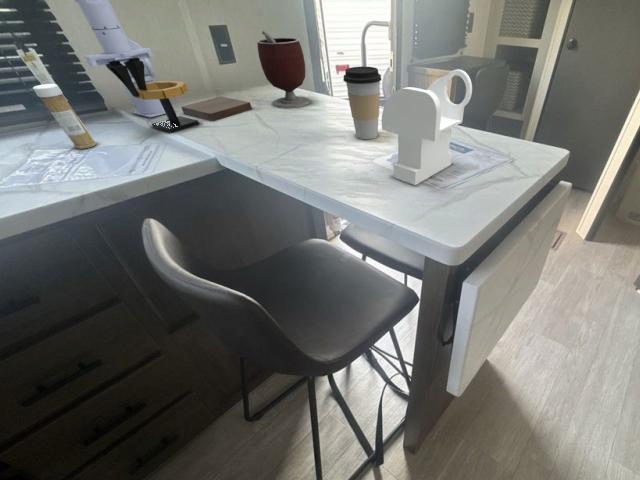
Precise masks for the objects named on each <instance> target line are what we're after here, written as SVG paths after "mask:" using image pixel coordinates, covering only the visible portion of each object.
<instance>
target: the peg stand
mask: <svg viewBox="0 0 640 480" xmlns="http://www.w3.org/2000/svg"><path fill="white" fill-rule="evenodd" d="M159 100H160V102H161V104H162V106H163V109H164V111H165V113H166V114H165V115H166V117H167V119H165V120H166V122H167V121H170V126H169V125H168V124H169V123H168V124H167V123H165V122H163V126H164V123H165V126H164V127H163V126H161V125H162V124H161V123H162V122H161V123H159V125H158V126H157V125H156V123H158V122H159V121H157V122H154V123H151V126H152V128H153V129H157V130H160V131H164V132H167V133H171V134H172V133H175V132H178V131H182V130H185V129H188V128H192V127H195V126H198V125H200V122H199V120H197V119H193V118H190V117H186V116H181V115H179V116H178V115H177V112H176V110H175V109H174V107H173V105H172V102H171V100H170V98H165V99H159ZM173 123H174V124H176V126H178V127H175V125H174V124H173ZM154 124H155V125H154ZM160 124H161V125H160ZM167 125H168V126H167ZM171 126H172V127H171ZM166 127H167V128H166ZM168 127H169V128H170V129H169V128H168ZM173 127H174V128H173Z"/></svg>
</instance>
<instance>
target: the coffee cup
mask: <svg viewBox="0 0 640 480" xmlns="http://www.w3.org/2000/svg"><path fill="white" fill-rule="evenodd" d="M344 73H345V74H344V75H343V82H345V85H346V89H347V98H348V103H349V109H350V114H351V117H352V120H353V126H354V131H355V136H356V137H357V138H358V139H359V140H373V139H376V138H377V137H378V135H379V117H380V104H381V102H380V101H381V100H380V99H381V92H380V87H381V86H380V84H381V81H382V77H381V76H382V75H381V73H379V68H377V67H374V66H351V67H348V68H346V69H345V71H344Z"/></svg>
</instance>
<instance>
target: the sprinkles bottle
mask: <svg viewBox="0 0 640 480" xmlns="http://www.w3.org/2000/svg"><path fill="white" fill-rule="evenodd" d="M32 90H33V91H34V93H35V94H36V96H37V97H39V99H41V101H42V103H44V105H45V107H46V108H47V109H48V110H49V112H50V114H51V115H52V116H53V118H54V119H55V120H56V123H58V125H59V126H60V128H61V129H62V130H63V132H64V134H65V135H67V137H68V138H69V140H70V141H71V142H72V144H73V145H74V148H76V149H81V150H83V149H89V148H92V147H95V146H96V145H97V142H96V141H95V140H94V138H93V137H92V136H91V134H90V133H89V131H88V129H87V128H86V126H85V124H84V123H83V122H82V120H81V119H80V117H79V116H78V115H77V113H76V112H75V110H74V109H73V107H72V106H71V105H70V103H69V102H68V100H67V99H66V97H65V96H64V94H63V93H64V92H63V91H62V89H61V88H60V87H59V85H58V84H56V83H43V84H39V85H34V86H33V87H32Z"/></svg>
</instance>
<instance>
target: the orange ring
mask: <svg viewBox="0 0 640 480" xmlns="http://www.w3.org/2000/svg"><path fill="white" fill-rule="evenodd" d="M146 87H147V90H141V89H139V88H138V86H135V88H136V89H137V91H138V94H139V96H140V97H135V98H139V99H143V100H145V99H146V100H153V99H165V98H169V99H170V98H171V99H172V98H174V97H178V96H183V95H185V94H186V93H187V92H188V91H189V89H188V87H187V84H186V82H184V81H178V80H161V81H154V82H151V83H146Z"/></svg>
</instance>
